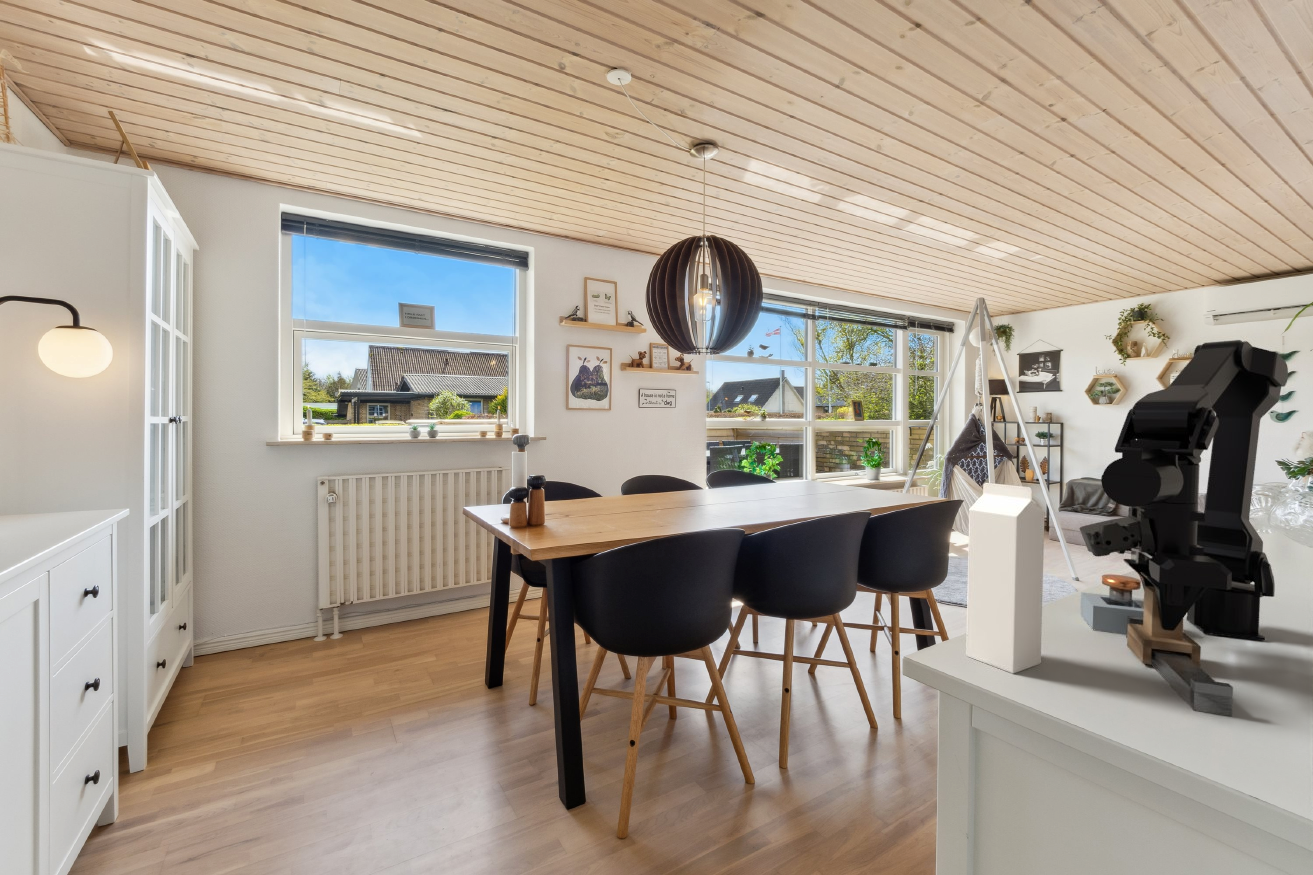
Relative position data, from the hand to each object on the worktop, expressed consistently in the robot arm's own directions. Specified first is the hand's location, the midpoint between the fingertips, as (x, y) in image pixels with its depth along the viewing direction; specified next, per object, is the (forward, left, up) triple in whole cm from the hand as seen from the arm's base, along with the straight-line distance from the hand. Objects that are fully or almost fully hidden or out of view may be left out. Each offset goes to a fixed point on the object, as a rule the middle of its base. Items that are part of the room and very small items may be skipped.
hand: (1162, 625), depth 73 cm
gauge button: (+1, -13, -2) cm, 13 cm away
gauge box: (+1, -13, -4) cm, 14 cm away
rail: (0, +3, -4) cm, 5 cm away
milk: (+18, +8, -5) cm, 20 cm away
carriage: (0, 0, -4) cm, 4 cm away
